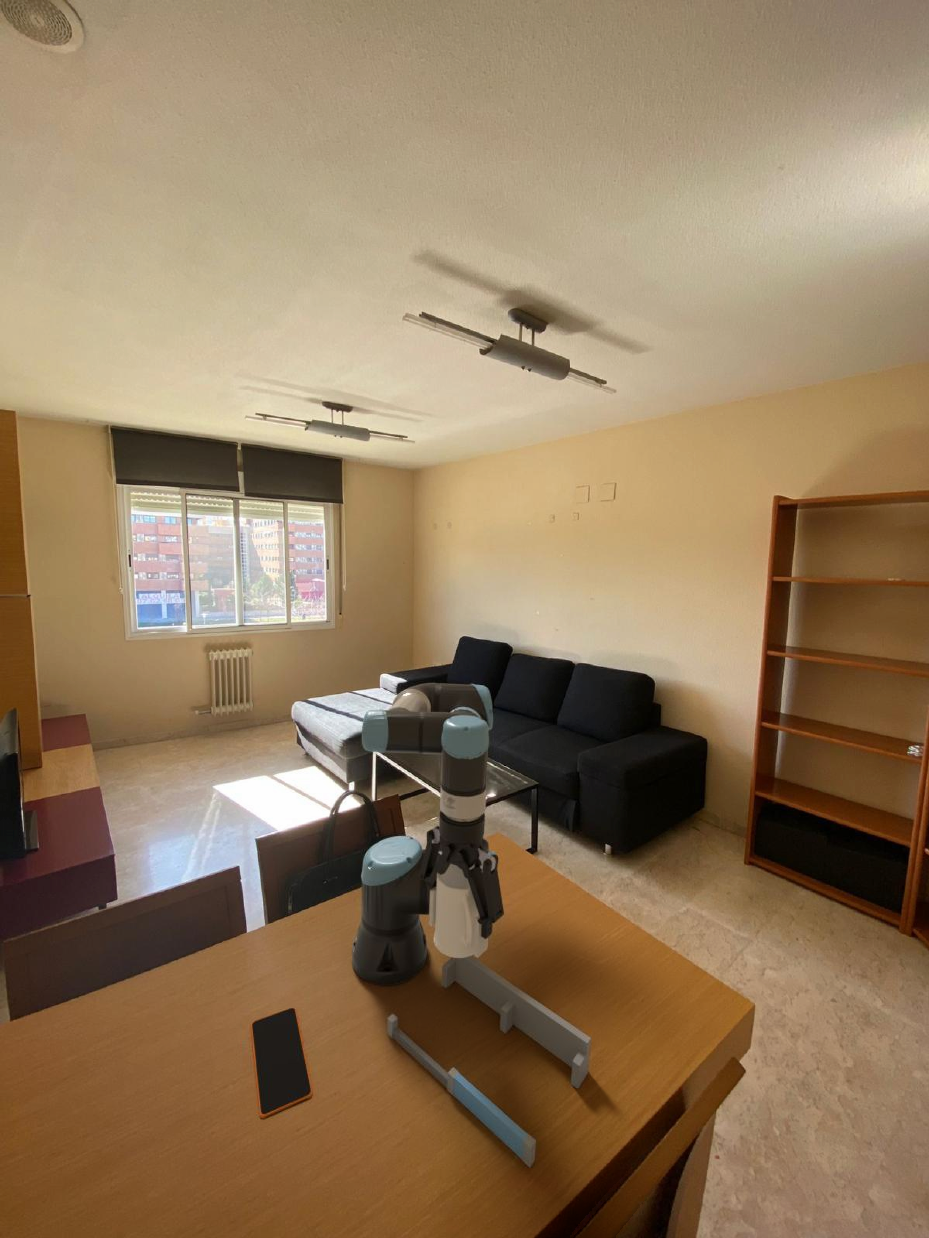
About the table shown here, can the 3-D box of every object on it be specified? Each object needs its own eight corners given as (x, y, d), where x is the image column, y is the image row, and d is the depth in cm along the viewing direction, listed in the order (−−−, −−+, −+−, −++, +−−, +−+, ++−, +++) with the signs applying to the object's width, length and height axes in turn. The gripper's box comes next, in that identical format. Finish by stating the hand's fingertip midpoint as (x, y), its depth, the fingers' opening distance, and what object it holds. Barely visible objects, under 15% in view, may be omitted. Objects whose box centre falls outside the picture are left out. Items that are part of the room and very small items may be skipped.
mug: (490, 972, 80) (493, 902, 79) (436, 976, 79) (439, 905, 78) (478, 920, 92) (481, 858, 91) (431, 923, 91) (433, 860, 89)
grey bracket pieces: (387, 1034, 86) (388, 1001, 85) (454, 973, 99) (455, 945, 98) (529, 1167, 67) (532, 1128, 67) (588, 1071, 80) (590, 1037, 80)
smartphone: (259, 1122, 72) (259, 1117, 72) (250, 1025, 87) (250, 1021, 86) (314, 1098, 75) (314, 1093, 75) (296, 1009, 90) (296, 1004, 90)
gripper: (399, 796, 87) (396, 916, 90) (503, 846, 73) (496, 986, 76) (429, 783, 93) (426, 896, 96) (531, 827, 79) (524, 957, 81)
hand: (457, 936), depth 86 cm, fingers closed on mug, 9 cm apart
